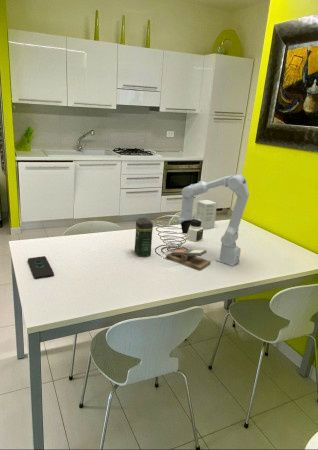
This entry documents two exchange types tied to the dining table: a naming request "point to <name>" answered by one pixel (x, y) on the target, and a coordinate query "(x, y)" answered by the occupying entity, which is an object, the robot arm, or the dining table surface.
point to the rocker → (189, 252)
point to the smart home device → (40, 267)
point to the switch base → (189, 261)
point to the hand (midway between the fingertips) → (184, 233)
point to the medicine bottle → (195, 230)
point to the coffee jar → (143, 237)
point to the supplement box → (206, 213)
